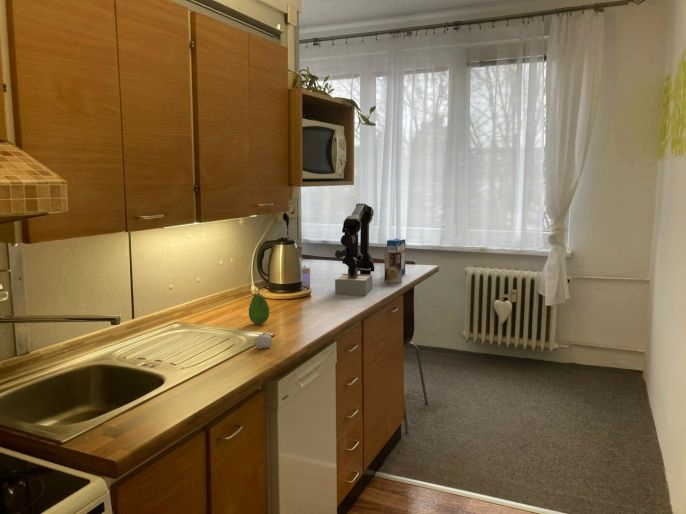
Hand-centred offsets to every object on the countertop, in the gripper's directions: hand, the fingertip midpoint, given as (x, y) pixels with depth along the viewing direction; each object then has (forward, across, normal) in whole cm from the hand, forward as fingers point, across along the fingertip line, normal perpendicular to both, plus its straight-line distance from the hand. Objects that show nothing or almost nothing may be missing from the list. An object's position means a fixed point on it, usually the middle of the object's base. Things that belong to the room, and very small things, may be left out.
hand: (352, 275), depth 273 cm
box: (+8, 0, 0) cm, 8 cm away
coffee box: (+8, -29, +16) cm, 34 cm away
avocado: (+8, +66, -23) cm, 70 cm away
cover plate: (+2, 0, 0) cm, 2 cm away
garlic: (+8, +94, -10) cm, 95 cm away
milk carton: (+8, -49, +14) cm, 52 cm away
